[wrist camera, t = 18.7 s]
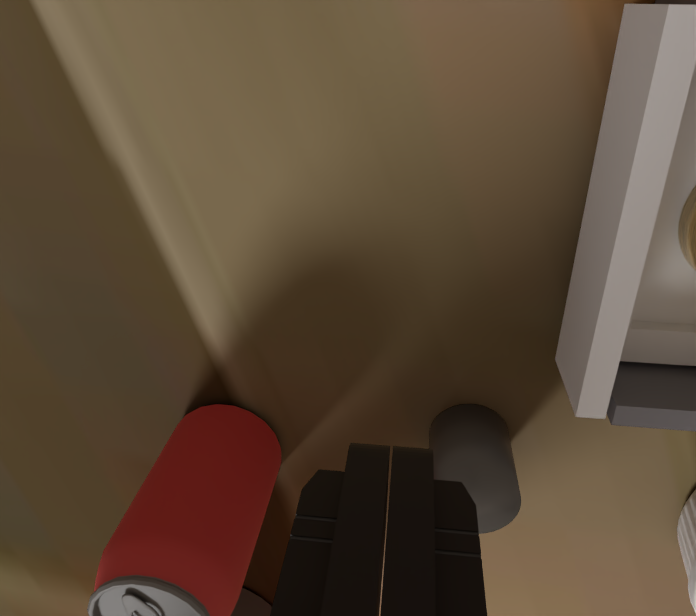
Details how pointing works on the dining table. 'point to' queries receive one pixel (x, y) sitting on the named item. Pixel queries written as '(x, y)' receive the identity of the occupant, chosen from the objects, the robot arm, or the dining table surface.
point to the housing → (654, 384)
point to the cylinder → (477, 461)
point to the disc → (688, 229)
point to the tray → (636, 214)
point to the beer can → (192, 520)
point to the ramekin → (689, 543)
